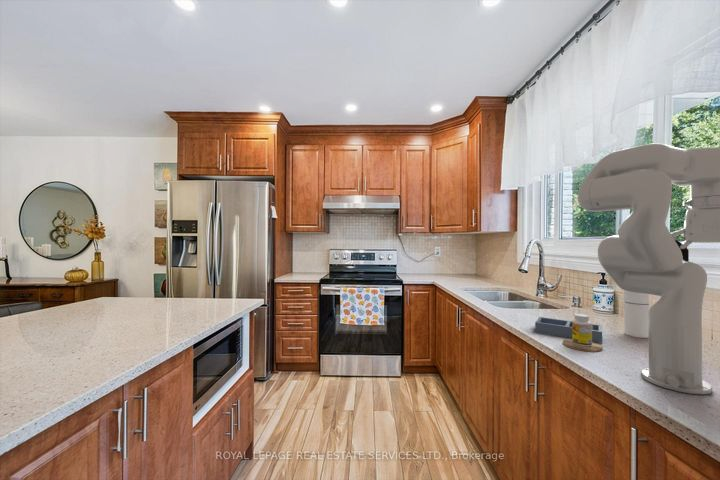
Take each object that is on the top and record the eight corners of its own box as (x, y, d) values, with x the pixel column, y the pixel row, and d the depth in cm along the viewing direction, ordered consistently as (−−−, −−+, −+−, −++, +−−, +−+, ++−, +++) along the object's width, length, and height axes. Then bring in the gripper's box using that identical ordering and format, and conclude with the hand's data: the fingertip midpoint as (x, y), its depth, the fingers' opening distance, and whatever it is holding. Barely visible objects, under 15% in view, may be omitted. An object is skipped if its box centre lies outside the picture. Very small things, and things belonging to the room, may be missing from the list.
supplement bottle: (571, 340, 108) (570, 312, 108) (590, 343, 105) (589, 314, 105) (573, 345, 103) (573, 316, 103) (593, 348, 100) (593, 317, 100)
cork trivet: (602, 354, 97) (602, 352, 97) (561, 346, 103) (561, 345, 104) (602, 345, 105) (602, 343, 105) (564, 338, 112) (564, 337, 112)
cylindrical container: (631, 337, 114) (631, 271, 114) (620, 331, 121) (619, 269, 121) (654, 338, 112) (653, 272, 113) (641, 332, 119) (640, 270, 120)
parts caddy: (602, 343, 107) (602, 331, 107) (535, 332, 121) (535, 322, 121) (602, 335, 116) (602, 325, 116) (539, 326, 129) (539, 316, 129)
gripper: (669, 204, 89) (669, 262, 89) (763, 199, 78) (764, 265, 78) (664, 207, 95) (665, 261, 95) (752, 202, 84) (753, 263, 84)
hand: (710, 262), depth 86 cm, fingers open, 9 cm apart
